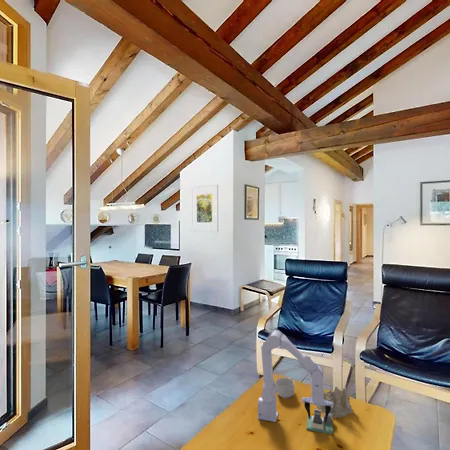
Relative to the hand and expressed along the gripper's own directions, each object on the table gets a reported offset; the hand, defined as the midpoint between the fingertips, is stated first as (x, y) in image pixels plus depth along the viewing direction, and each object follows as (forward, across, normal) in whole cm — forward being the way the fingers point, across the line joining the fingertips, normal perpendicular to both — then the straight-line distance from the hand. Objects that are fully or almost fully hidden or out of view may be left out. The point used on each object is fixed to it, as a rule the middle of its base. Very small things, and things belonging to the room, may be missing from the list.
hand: (317, 419), depth 153 cm
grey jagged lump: (+4, +8, +19) cm, 21 cm away
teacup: (+4, -18, +25) cm, 31 cm away
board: (+4, +1, +1) cm, 4 cm away
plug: (+3, 0, 0) cm, 3 cm away
